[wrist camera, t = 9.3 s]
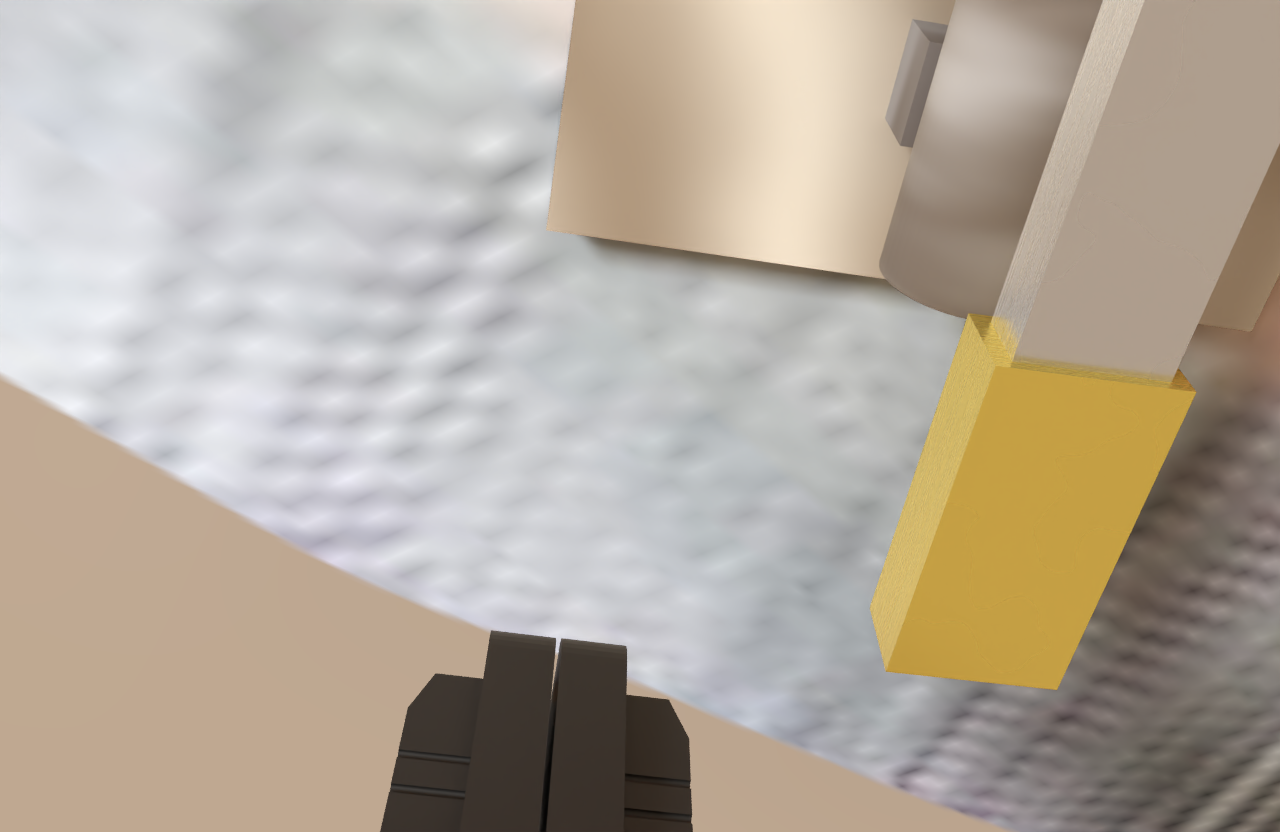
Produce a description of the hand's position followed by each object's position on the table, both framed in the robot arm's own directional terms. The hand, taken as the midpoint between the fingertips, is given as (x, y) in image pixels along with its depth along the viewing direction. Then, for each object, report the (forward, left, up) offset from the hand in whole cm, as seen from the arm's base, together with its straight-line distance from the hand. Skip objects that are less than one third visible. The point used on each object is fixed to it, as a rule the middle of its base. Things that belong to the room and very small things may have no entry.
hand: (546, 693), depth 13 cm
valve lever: (-7, -4, -8) cm, 11 cm away
